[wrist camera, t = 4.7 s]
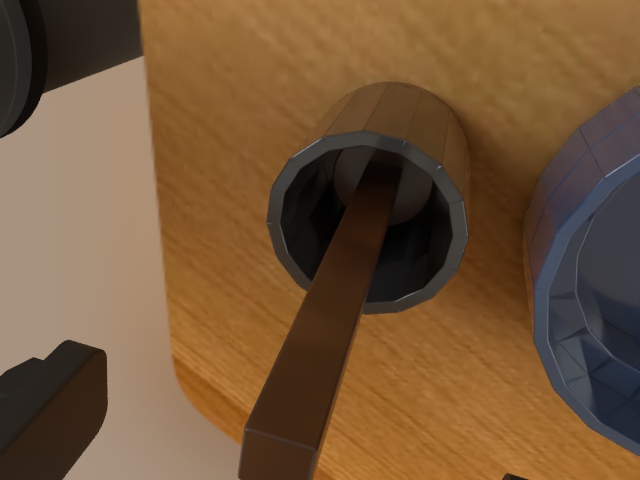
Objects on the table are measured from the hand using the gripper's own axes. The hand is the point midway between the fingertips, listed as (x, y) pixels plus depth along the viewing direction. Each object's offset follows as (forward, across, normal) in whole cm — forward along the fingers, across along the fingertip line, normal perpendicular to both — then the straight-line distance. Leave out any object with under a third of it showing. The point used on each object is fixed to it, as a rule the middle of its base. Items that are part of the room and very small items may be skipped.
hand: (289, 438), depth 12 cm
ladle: (+16, 0, 0) cm, 16 cm away
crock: (+16, 0, 0) cm, 16 cm away
